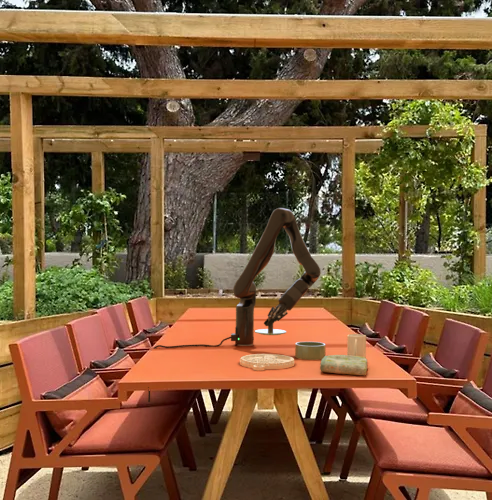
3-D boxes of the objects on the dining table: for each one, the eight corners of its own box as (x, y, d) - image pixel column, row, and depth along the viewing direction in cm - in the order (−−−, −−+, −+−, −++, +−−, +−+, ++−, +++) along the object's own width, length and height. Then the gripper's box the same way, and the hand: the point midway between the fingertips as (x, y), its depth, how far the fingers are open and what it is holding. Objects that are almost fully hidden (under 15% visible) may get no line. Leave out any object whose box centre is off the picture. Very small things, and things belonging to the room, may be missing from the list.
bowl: (295, 360, 266) (296, 346, 266) (294, 355, 280) (294, 341, 280) (326, 361, 266) (326, 346, 266) (323, 355, 279) (323, 341, 279)
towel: (368, 366, 254) (368, 354, 254) (366, 377, 233) (366, 363, 233) (324, 364, 258) (325, 352, 258) (319, 374, 237) (319, 361, 237)
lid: (254, 335, 272) (254, 317, 272) (254, 331, 287) (255, 314, 287) (287, 336, 272) (287, 318, 272) (285, 331, 286) (286, 314, 286)
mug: (363, 366, 254) (363, 338, 254) (343, 365, 257) (343, 337, 257) (367, 361, 265) (367, 334, 265) (348, 360, 268) (348, 333, 268)
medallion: (299, 360, 266) (299, 355, 266) (285, 372, 240) (285, 366, 240) (248, 357, 272) (249, 352, 272) (229, 368, 246) (229, 362, 246)
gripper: (278, 291, 288) (255, 318, 283) (292, 293, 276) (267, 321, 271) (288, 302, 291) (265, 328, 286) (302, 305, 278) (278, 332, 273)
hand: (266, 325), depth 278 cm, fingers closed on lid, 2 cm apart
